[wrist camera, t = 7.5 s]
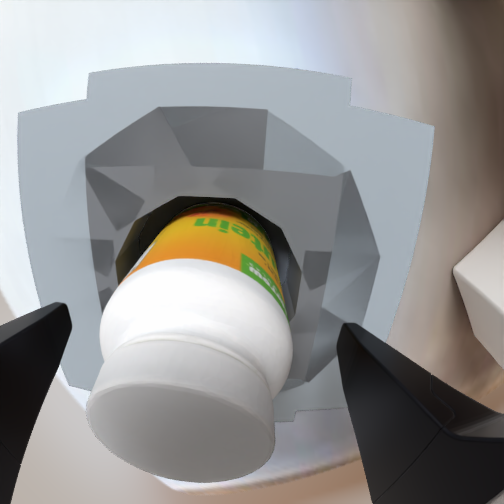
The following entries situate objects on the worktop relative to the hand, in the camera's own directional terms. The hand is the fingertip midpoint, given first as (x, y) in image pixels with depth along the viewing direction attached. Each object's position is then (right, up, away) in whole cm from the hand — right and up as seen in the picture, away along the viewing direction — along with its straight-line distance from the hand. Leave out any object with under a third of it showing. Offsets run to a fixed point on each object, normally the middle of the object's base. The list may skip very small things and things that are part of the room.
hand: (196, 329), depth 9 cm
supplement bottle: (0, +2, +5) cm, 6 cm away
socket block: (0, +2, +5) cm, 6 cm away
